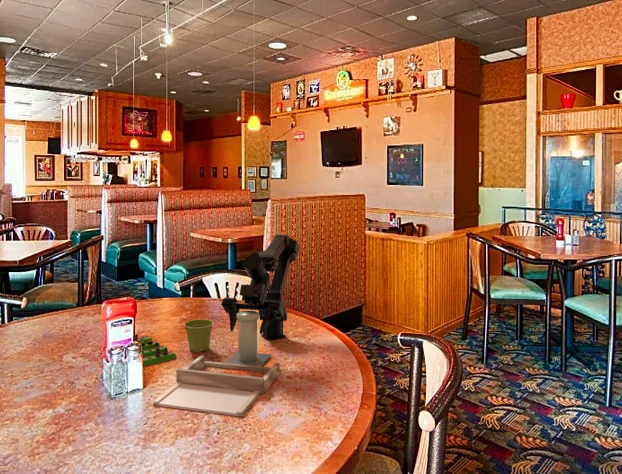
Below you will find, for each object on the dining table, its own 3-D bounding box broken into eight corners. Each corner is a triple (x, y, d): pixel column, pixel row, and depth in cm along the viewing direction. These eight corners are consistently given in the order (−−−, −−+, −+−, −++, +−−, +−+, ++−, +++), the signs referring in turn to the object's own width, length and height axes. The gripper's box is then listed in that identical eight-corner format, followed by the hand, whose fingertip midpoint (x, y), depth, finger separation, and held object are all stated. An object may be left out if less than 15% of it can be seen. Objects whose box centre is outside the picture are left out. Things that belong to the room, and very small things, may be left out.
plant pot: (207, 355, 155) (206, 328, 154) (179, 353, 157) (178, 326, 156) (218, 345, 165) (218, 320, 164) (192, 343, 166) (191, 318, 165)
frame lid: (178, 385, 133) (178, 381, 133) (259, 395, 127) (259, 391, 127) (153, 405, 121) (153, 401, 121) (241, 416, 116) (241, 412, 116)
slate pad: (237, 353, 157) (237, 351, 157) (270, 356, 154) (270, 354, 154) (223, 366, 146) (223, 363, 146) (258, 370, 144) (258, 367, 144)
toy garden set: (177, 359, 153) (176, 345, 152) (113, 375, 141) (112, 359, 140) (147, 341, 170) (147, 328, 170) (89, 353, 158) (88, 339, 158)
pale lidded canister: (250, 353, 155) (250, 309, 154) (263, 359, 150) (263, 313, 149) (232, 358, 151) (232, 313, 149) (244, 364, 146) (244, 317, 144)
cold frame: (202, 363, 148) (202, 350, 148) (280, 372, 142) (280, 358, 142) (176, 384, 134) (176, 370, 133) (262, 394, 128) (262, 379, 127)
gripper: (223, 271, 153) (207, 316, 144) (281, 275, 149) (269, 321, 140) (233, 291, 162) (219, 334, 153) (288, 294, 157) (277, 339, 148)
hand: (245, 332), depth 148 cm, fingers open, 9 cm apart
